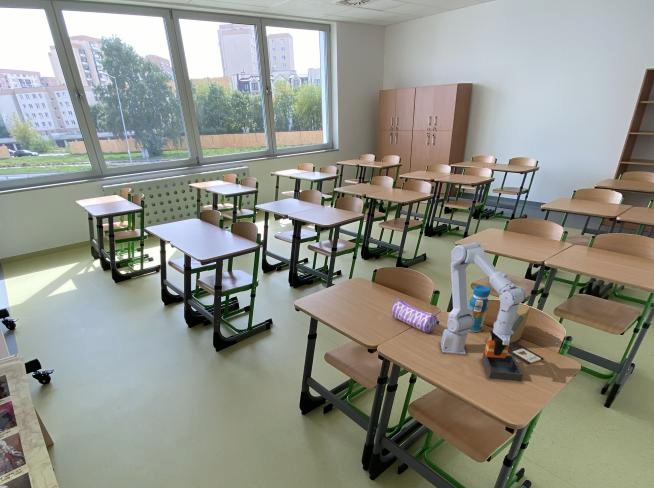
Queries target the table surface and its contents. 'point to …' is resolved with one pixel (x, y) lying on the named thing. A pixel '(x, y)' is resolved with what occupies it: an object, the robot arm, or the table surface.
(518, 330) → the sandwich container
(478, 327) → the beverage bottle
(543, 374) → the table surface
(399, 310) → the pencil case
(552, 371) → the table surface
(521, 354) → the chocolate bar
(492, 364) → the tray
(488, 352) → the snack box
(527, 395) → the table surface
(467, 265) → the robot arm
